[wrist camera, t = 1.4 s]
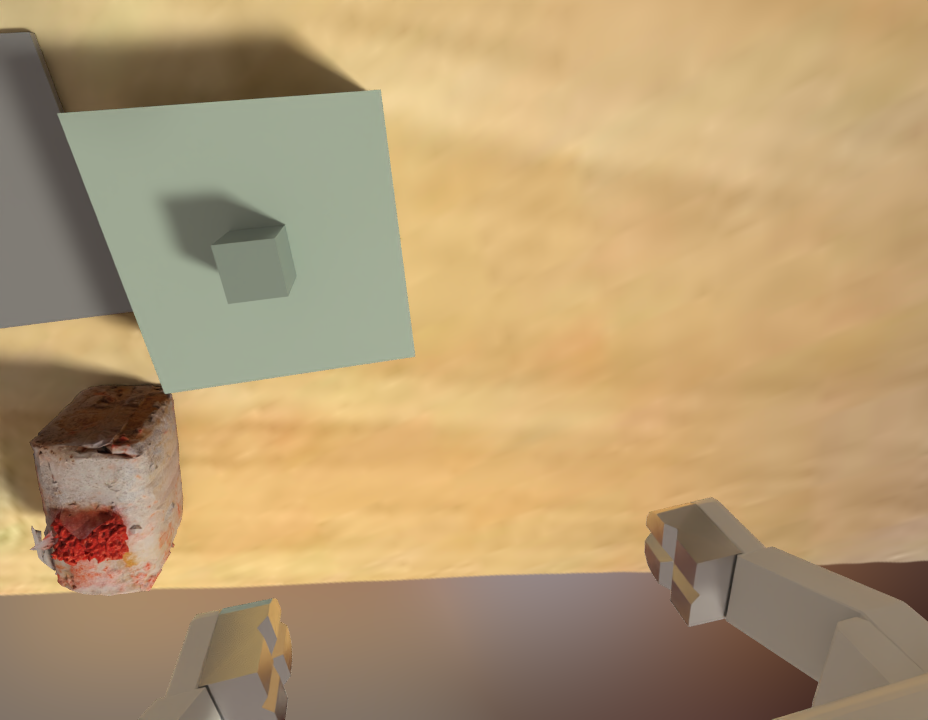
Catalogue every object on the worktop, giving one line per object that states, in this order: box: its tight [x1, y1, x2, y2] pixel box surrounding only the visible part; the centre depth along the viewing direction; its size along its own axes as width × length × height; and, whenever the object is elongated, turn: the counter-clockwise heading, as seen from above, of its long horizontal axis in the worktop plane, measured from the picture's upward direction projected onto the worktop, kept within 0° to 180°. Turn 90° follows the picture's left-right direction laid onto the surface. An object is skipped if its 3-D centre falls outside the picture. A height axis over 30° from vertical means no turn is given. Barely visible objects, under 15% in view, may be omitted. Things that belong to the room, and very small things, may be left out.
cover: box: [57, 90, 415, 394], centre depth 30 cm, size 16×16×11 cm
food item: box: [30, 385, 183, 596], centre depth 36 cm, size 14×8×10 cm, turn 172°
